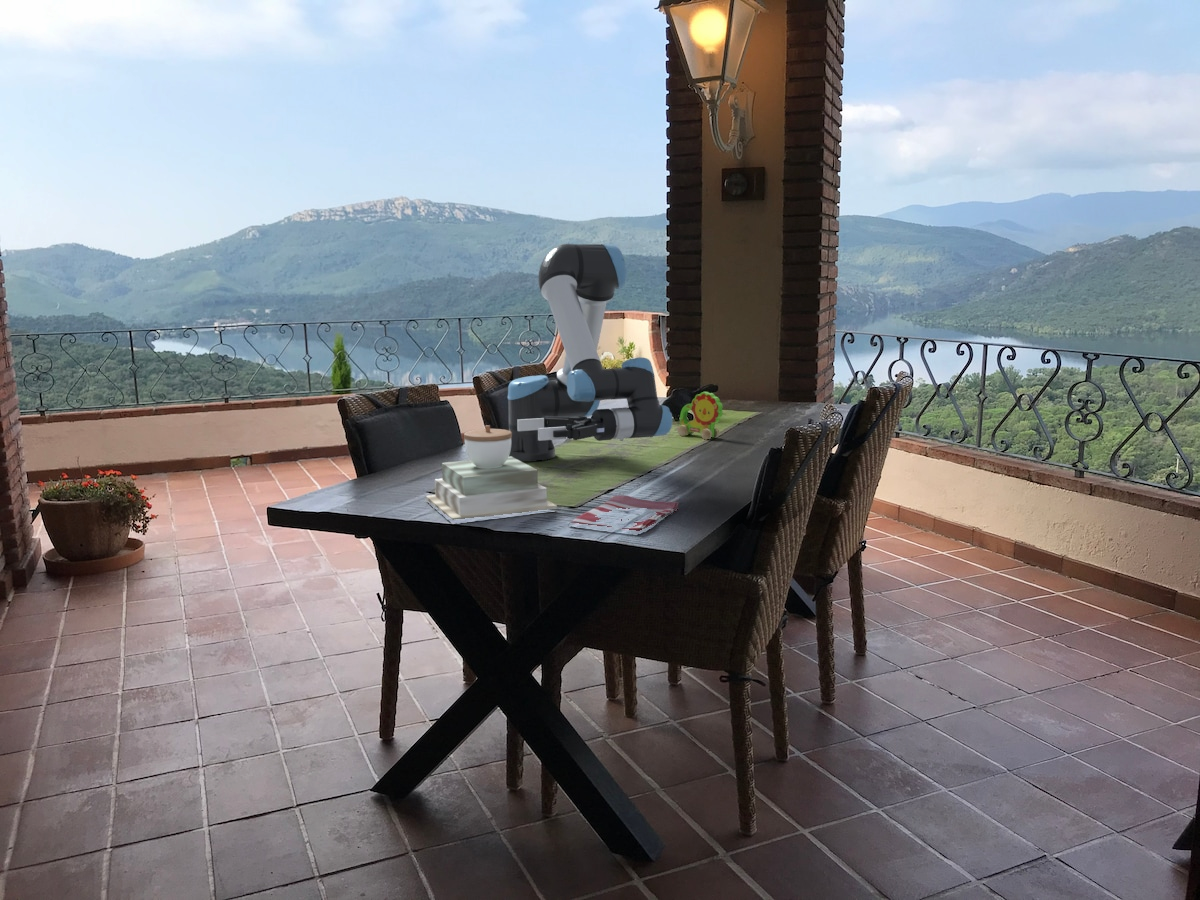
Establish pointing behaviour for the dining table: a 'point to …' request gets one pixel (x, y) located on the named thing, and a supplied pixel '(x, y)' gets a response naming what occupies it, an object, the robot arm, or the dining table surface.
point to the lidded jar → (488, 447)
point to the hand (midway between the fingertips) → (527, 429)
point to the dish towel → (628, 502)
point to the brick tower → (488, 490)
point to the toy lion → (702, 416)
